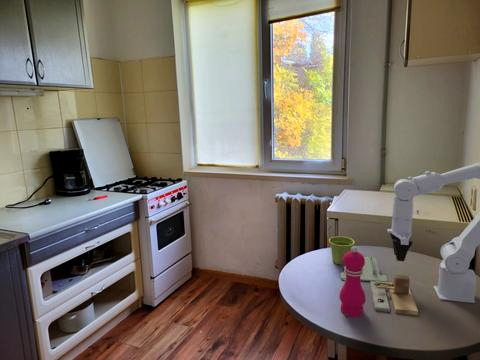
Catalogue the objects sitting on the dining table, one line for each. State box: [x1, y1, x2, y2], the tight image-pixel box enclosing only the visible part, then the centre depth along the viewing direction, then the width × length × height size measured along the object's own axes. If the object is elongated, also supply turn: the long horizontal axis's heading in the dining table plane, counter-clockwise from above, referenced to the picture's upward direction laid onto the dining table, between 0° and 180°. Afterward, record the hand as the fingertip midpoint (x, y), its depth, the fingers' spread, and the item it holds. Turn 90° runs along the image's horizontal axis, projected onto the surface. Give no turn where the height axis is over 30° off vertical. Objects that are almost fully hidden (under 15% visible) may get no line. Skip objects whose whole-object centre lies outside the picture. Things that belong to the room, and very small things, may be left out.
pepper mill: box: [339, 246, 367, 318], centre depth 100 cm, size 7×7×20 cm
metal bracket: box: [340, 255, 388, 283], centre depth 125 cm, size 14×6×15 cm
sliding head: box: [377, 273, 411, 294], centre depth 109 cm, size 9×2×5 cm, turn 74°
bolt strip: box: [369, 281, 391, 313], centre depth 109 cm, size 4×16×1 cm, turn 164°
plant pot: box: [328, 235, 355, 266], centre depth 134 cm, size 9×9×9 cm
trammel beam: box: [375, 281, 419, 316], centre depth 108 cm, size 10×16×2 cm, turn 165°
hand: (399, 257), depth 112 cm, fingers open, 4 cm apart
